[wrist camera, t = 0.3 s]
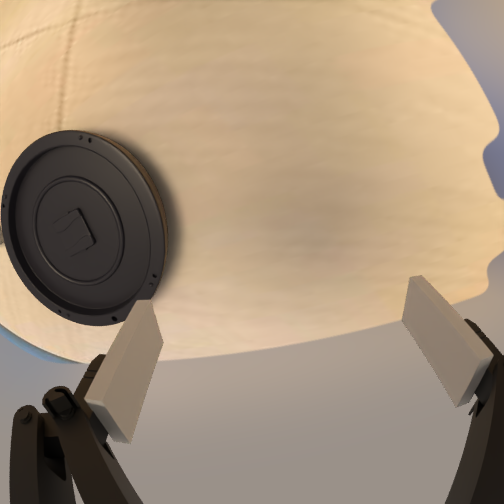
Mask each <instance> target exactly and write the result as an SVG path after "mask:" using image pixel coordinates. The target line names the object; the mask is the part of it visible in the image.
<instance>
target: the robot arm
mask: <svg viewBox="0 0 504 504" xmlns="http://www.w3.org/2000/svg"><path fill="white" fill-rule="evenodd" d="M402 322H403V323H404V325H405V326H406V328H407V329H408V331H409V332H410V334H411V335H412V337H413V338H414V340H415V341H416V343H417V344H418V346H419V348H420V349H421V351H422V352H423V354H424V355H425V357H426V358H427V360H428V362H429V363H430V365H431V366H432V368H433V370H434V371H435V373H436V375H437V376H438V378H439V380H440V381H441V383H442V385H443V386H444V388H445V390H446V391H447V393H448V395H449V396H450V398H451V400H452V402H453V403H454V405H455V407H459V406H462V405H464V404H466V403H469V401H470V400H471V398H472V397H473V395H474V393H475V394H476V396H477V397H478V399H477V401H476V402H475V404H474V405H473V407H472V409H471V411H470V412H469V415H471V413H472V412H473V416H472V421H471V425H470V429H469V433H468V437H467V440H466V444H465V448H464V451H463V455H462V458H461V461H460V464H459V467H458V470H457V473H456V476H455V479H454V482H453V484H452V487H451V490H450V492H449V495H448V497H447V500H446V502H445V504H504V355H502V354H501V353H500V352H499V350H498V349H497V348H496V347H495V345H494V344H493V343H492V342H491V341H490V340H489V338H487V337H486V335H485V334H484V333H483V332H481V329H480V328H479V327H478V326H477V325H476V324H475V323H473V322H472V321H470V320H468V319H463V318H462V317H461V316H460V315H459V314H458V313H457V312H456V311H455V310H454V309H453V307H452V306H451V305H450V304H449V303H448V302H447V301H446V300H445V299H444V298H443V297H442V296H441V295H440V294H439V293H438V291H437V290H436V289H435V288H434V287H433V286H432V285H431V284H430V283H429V282H428V281H427V280H426V279H425V278H424V277H423V276H422V275H421V276H413V277H410V278H409V285H408V290H407V296H406V301H405V306H404V311H403V316H402ZM163 343H164V342H163V339H162V336H161V333H160V330H159V326H158V323H157V320H156V316H155V313H154V310H153V306H152V303H151V300H137V301H136V303H135V304H134V306H133V308H132V310H131V311H130V313H129V315H128V317H127V318H126V320H125V322H124V324H123V325H122V327H121V329H120V331H119V333H118V334H117V336H116V338H115V340H114V342H113V343H112V345H111V347H110V349H109V351H108V353H107V355H104V354H99V355H98V356H97V357H96V358H95V359H94V360H92V361H91V363H90V365H89V367H88V369H87V371H86V372H85V374H84V376H83V378H82V380H81V381H80V383H79V385H78V387H77V389H76V391H75V393H74V395H73V394H72V393H71V391H70V390H69V388H67V387H65V386H57V387H54V388H52V389H50V390H49V391H48V392H47V393H46V394H45V395H44V397H43V399H42V405H43V406H44V407H45V409H46V410H47V411H48V413H39V412H38V411H37V409H36V408H35V407H34V406H32V405H26V406H23V407H21V408H20V409H18V410H17V412H16V413H15V415H14V419H13V427H12V437H11V451H10V504H76V501H75V495H74V489H73V482H72V477H73V479H74V481H75V484H76V486H77V489H78V491H79V493H80V495H81V498H82V500H83V502H84V504H143V502H142V501H141V499H140V498H139V496H138V495H137V493H136V492H135V490H134V488H133V487H132V485H131V484H130V482H129V480H128V479H127V477H126V475H125V474H124V472H123V470H122V468H121V467H120V465H119V463H118V461H117V459H116V458H115V456H114V454H113V452H112V450H111V448H110V446H109V444H108V443H107V442H106V439H107V436H108V434H109V435H110V436H111V438H112V439H113V440H114V441H116V442H122V443H128V444H131V441H132V438H133V434H134V431H135V427H136V424H137V421H138V418H139V415H140V412H141V408H142V405H143V402H144V399H145V396H146V393H147V390H148V387H149V384H150V381H151V378H152V374H153V372H154V369H155V366H156V363H157V360H158V357H159V354H160V351H161V348H162V346H163ZM71 474H72V475H71Z"/></svg>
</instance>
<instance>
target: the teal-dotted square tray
mask: <svg viewBox="0 0 504 504" xmlns="http://www.w3.org/2000/svg"><path fill="white" fill-rule="evenodd" d="M3 242H4V238H3V235H2V231H1V227H0V244H1V243H3Z"/></svg>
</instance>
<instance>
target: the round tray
mask: <svg viewBox="0 0 504 504" xmlns="http://www.w3.org/2000/svg"><path fill="white" fill-rule="evenodd" d="M1 226H2V233H3V238H4V243H5V246H6V250H7V252H8V255H9V258H10V260H11V263H12V265H13V267H14V269H15V271H16V272H17V274H18V276H19V277H20V279H21V280H22V282H23V283H24V285H25V286H26V287H27V289H28V290H29V291H30V292H31V293H32V294H33V295H34V296H35V297H36V298H37V299H38V300H39V301H40V302H41V303H42V304H43V305H44V306H46V307H47V308H48V309H50V310H51V311H53V312H54V313H56V314H58V315H59V316H61V317H63V318H65V319H68V320H70V321H73V322H76V323H79V324H83V325H90V326H107V325H113V324H117V323H120V322H123V321H125V320H126V318H127V317H128V315H129V313H130V311H131V310H132V308H133V306H134V304H135V303H136V301H137V300H151V298H152V296H153V295H154V293H155V291H156V290H157V288H158V285H159V283H160V280H161V278H162V275H163V271H164V267H165V262H166V256H167V247H168V230H167V221H166V215H165V211H164V207H163V204H162V201H161V198H160V195H159V193H158V190H157V188H156V186H155V184H154V182H153V181H152V179H151V177H150V176H149V174H148V173H147V171H146V170H145V168H144V167H143V166H142V165H141V163H140V162H139V161H138V160H137V159H136V158H135V157H134V156H133V155H132V154H131V153H130V152H128V151H127V150H126V149H125V148H123V147H122V146H120V145H119V144H117V143H115V142H114V141H112V140H110V139H108V138H106V137H103V136H100V135H98V134H94V133H90V132H86V131H79V130H64V131H58V132H54V133H51V134H48V135H45V136H43V137H41V138H39V139H38V140H36V141H35V142H33V143H32V144H31V145H30V146H28V147H27V148H26V149H25V150H24V151H23V152H22V154H21V155H20V156H19V157H18V159H17V160H16V162H15V163H14V165H13V166H12V168H11V170H10V172H9V175H8V177H7V180H6V183H5V186H4V190H3V195H2V202H1Z"/></svg>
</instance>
